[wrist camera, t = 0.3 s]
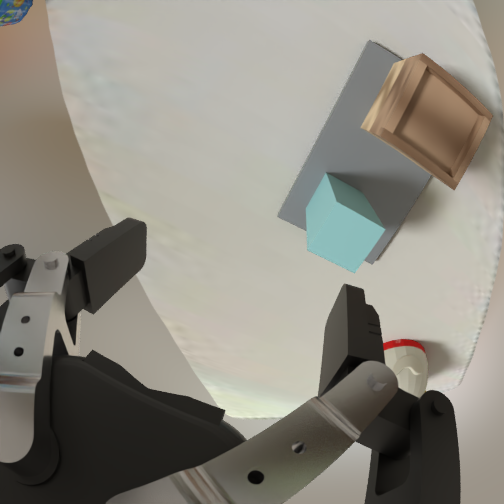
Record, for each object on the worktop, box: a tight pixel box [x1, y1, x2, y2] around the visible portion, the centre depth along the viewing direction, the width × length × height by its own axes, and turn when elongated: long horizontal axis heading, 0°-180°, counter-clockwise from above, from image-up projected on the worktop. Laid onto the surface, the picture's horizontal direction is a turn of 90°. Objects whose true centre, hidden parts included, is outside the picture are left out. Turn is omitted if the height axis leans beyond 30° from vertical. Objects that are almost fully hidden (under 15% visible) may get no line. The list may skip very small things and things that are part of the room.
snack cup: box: [0, 0, 33, 26], centre depth 16 cm, size 16×11×10 cm
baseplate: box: [277, 40, 431, 264], centre depth 29 cm, size 24×14×1 cm, turn 156°
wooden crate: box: [361, 53, 493, 190], centre depth 22 cm, size 9×9×8 cm
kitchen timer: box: [383, 339, 428, 398], centre depth 39 cm, size 14×14×15 cm
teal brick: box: [306, 173, 386, 273], centre depth 28 cm, size 5×5×10 cm
